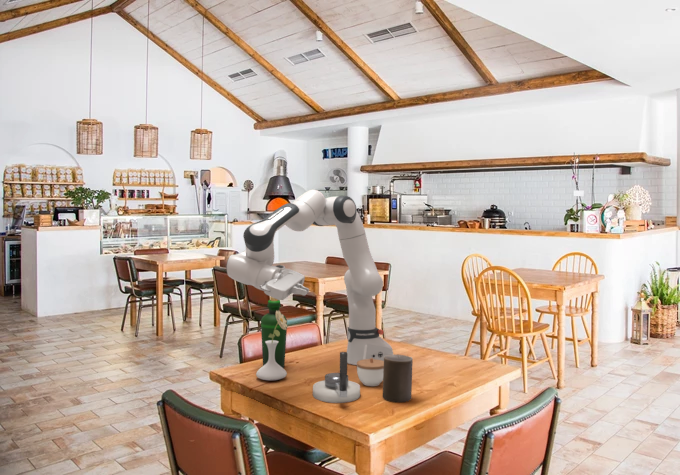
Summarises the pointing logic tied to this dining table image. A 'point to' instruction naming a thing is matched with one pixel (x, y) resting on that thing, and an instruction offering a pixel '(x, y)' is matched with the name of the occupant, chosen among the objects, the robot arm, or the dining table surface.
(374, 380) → the lidded jar
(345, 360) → the saucepan with upright handle
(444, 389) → the dining table surface
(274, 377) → the flower in vase
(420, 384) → the dining table surface
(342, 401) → the light grey round disc
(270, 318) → the bottle
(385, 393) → the pillar candle
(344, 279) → the robot arm
